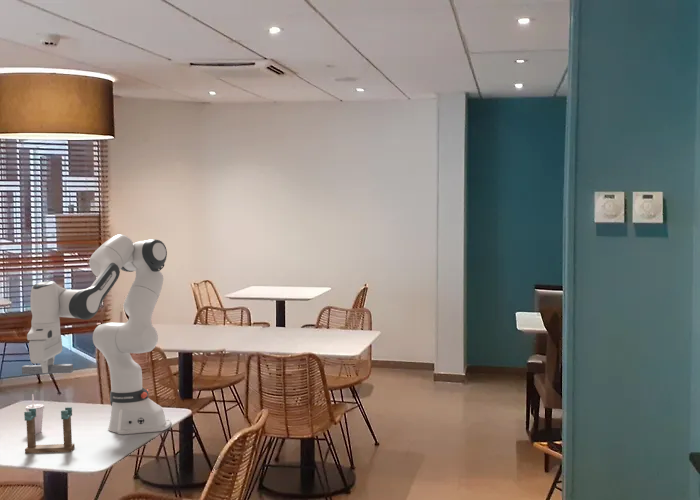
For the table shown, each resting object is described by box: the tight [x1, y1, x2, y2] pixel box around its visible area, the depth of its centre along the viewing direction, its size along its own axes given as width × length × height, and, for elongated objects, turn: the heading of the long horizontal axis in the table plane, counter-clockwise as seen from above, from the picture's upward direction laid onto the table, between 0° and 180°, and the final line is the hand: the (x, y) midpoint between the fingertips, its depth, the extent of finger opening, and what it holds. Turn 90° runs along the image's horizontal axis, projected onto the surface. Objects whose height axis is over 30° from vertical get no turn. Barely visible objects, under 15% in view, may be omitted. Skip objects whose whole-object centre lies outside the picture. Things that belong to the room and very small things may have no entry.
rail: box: [21, 363, 74, 375], centre depth 253 cm, size 16×2×2 cm, turn 92°
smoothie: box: [24, 393, 45, 435], centre depth 277 cm, size 6×6×14 cm
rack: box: [23, 406, 75, 454], centre depth 254 cm, size 15×5×14 cm, turn 93°
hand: (47, 371), depth 253 cm, fingers closed on rail, 2 cm apart
